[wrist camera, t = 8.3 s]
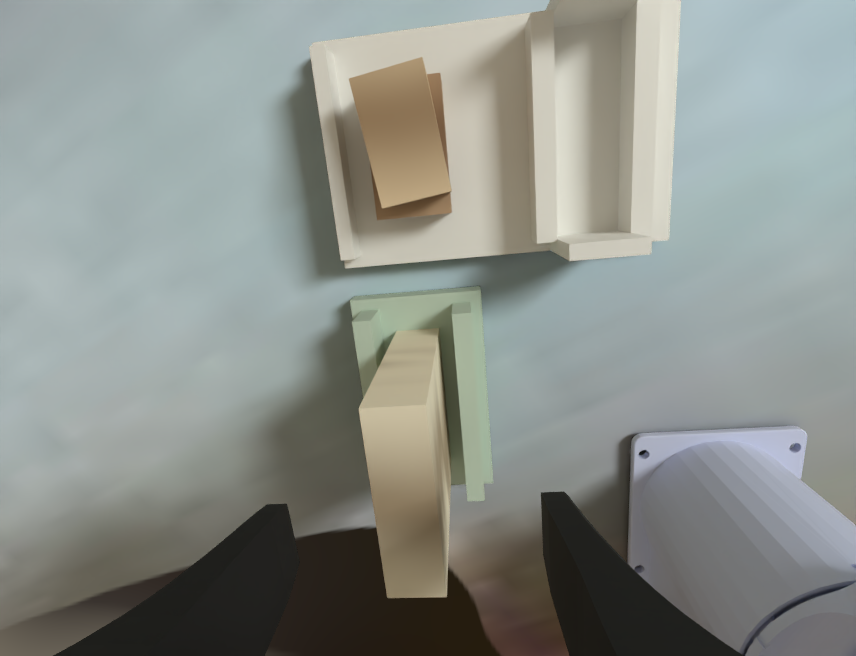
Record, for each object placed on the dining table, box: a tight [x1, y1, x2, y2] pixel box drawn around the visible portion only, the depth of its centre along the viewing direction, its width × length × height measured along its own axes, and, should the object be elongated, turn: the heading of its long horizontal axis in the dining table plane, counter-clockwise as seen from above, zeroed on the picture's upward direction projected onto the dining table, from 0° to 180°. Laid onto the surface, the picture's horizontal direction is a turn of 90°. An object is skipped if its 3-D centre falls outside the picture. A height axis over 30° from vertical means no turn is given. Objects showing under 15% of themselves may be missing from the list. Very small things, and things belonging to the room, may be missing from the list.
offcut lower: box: [370, 73, 452, 220], centre depth 18 cm, size 5×3×2 cm, turn 6°
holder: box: [350, 286, 493, 501], centre depth 21 cm, size 10×6×3 cm, turn 6°
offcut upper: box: [349, 57, 452, 208], centre depth 16 cm, size 4×3×2 cm, turn 14°
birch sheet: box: [359, 328, 452, 598], centre depth 18 cm, size 7×2×8 cm, turn 6°
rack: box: [309, 0, 681, 268], centre depth 17 cm, size 9×14×4 cm, turn 95°
